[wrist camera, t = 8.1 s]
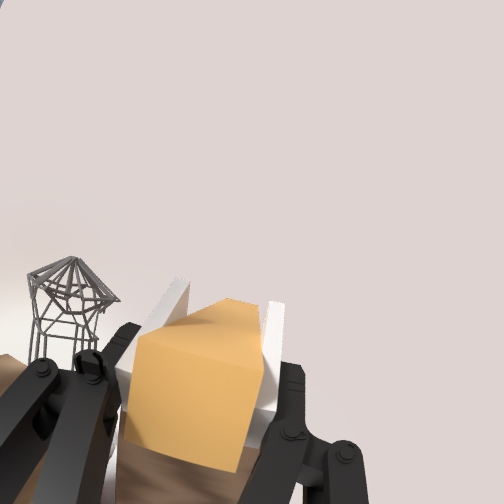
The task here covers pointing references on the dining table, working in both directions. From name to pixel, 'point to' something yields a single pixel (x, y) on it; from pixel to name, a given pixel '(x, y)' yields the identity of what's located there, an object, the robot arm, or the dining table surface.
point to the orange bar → (197, 385)
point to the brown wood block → (175, 476)
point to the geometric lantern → (93, 284)
